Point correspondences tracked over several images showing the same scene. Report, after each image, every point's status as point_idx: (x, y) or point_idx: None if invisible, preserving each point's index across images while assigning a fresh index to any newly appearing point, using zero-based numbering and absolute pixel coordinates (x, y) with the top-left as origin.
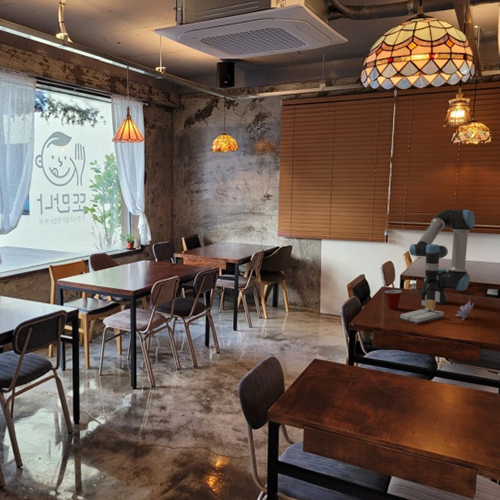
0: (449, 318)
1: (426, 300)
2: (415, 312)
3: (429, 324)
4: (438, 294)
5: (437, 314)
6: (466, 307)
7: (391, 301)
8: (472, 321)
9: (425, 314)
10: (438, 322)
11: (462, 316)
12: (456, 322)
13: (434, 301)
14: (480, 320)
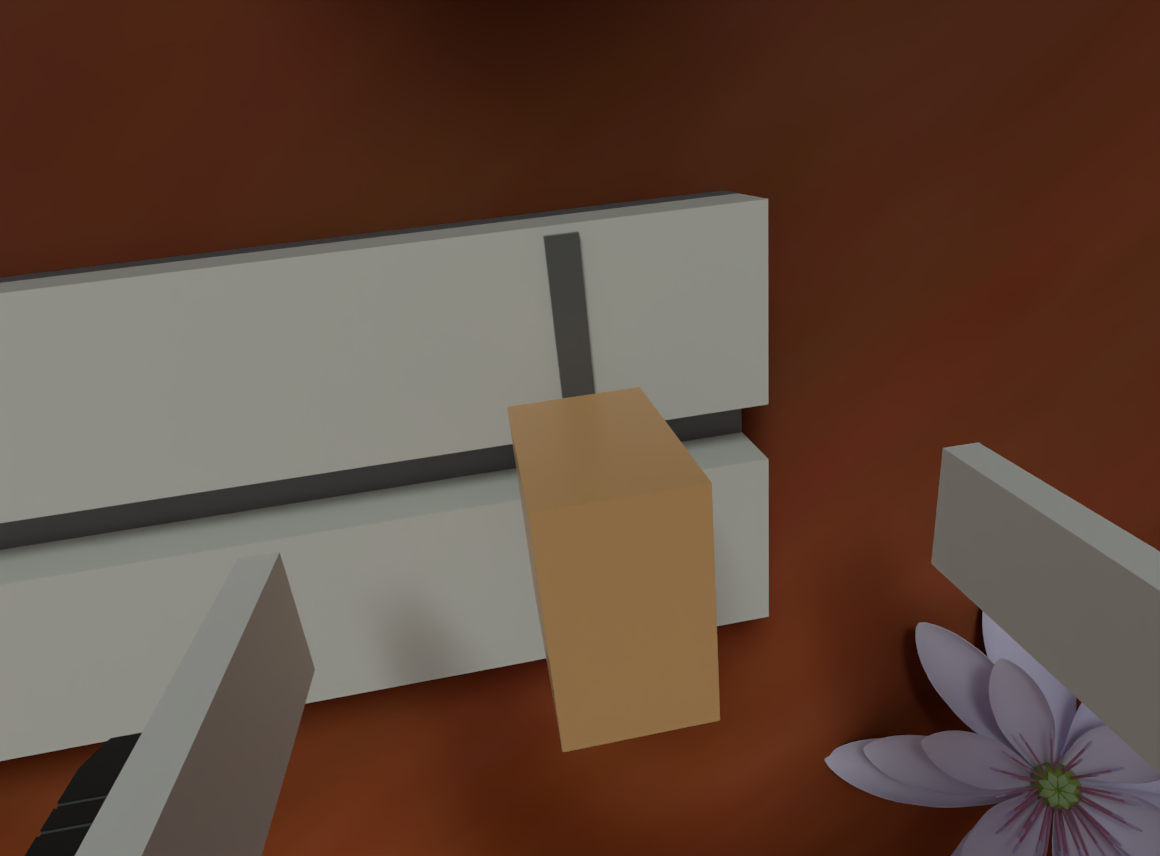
0: (750, 639)
1: (532, 550)
2: (146, 386)
3: None
4: (1129, 716)
5: None
6: (1114, 839)
7: None
8: (869, 836)
9: None
10: (385, 739)
11: (888, 766)
12: (641, 812)
13: (661, 724)
14: None
